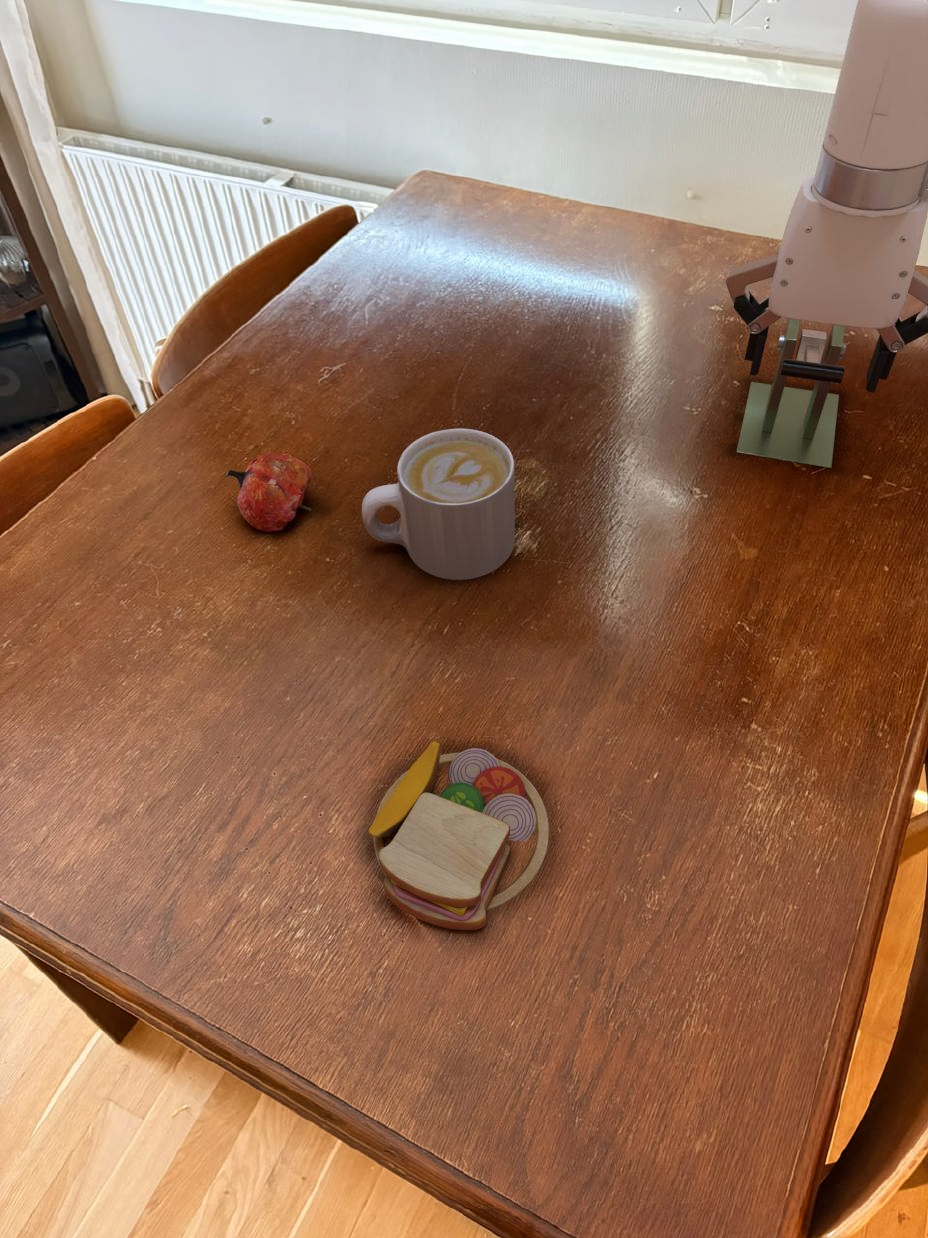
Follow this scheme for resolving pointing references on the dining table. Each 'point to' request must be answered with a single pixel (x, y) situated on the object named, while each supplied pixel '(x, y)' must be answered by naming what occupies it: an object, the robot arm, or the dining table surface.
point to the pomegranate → (272, 490)
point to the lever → (811, 360)
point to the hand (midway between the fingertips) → (812, 374)
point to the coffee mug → (450, 504)
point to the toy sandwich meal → (456, 836)
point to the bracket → (793, 410)
